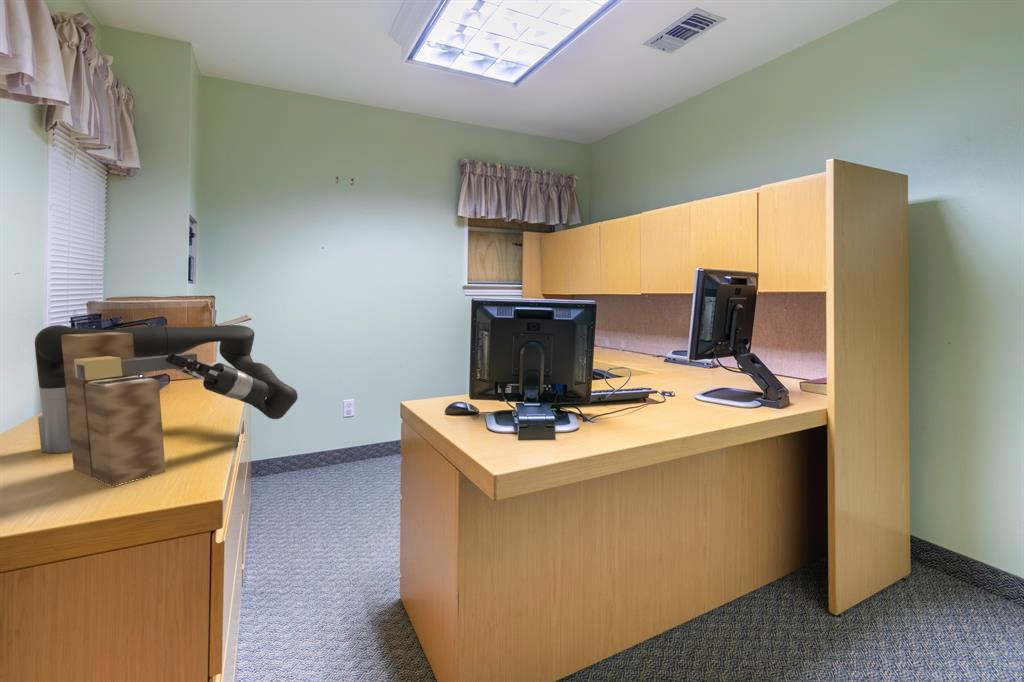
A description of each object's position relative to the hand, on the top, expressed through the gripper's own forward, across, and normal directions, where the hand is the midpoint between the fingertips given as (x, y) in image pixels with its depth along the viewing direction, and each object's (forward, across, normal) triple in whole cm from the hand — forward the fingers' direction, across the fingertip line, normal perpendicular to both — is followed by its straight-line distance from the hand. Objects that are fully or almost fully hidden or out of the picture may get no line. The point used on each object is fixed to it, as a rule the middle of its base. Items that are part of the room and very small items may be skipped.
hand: (163, 356), depth 114 cm
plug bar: (+3, 0, +5) cm, 5 cm away
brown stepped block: (-6, -6, +27) cm, 28 cm away
